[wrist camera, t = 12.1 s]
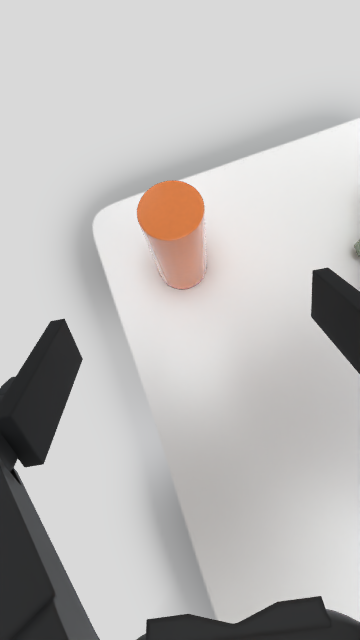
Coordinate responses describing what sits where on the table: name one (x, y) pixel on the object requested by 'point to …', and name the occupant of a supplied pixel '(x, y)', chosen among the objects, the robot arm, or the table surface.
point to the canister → (175, 232)
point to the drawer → (357, 248)
